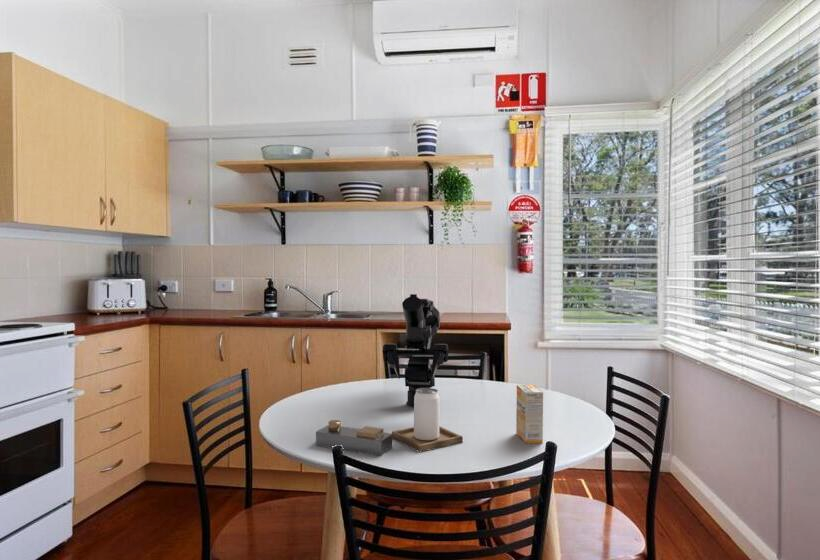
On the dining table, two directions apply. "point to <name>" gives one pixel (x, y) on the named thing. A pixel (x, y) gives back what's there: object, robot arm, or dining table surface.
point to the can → (426, 414)
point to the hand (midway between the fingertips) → (415, 377)
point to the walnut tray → (443, 440)
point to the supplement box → (529, 414)
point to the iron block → (354, 438)
